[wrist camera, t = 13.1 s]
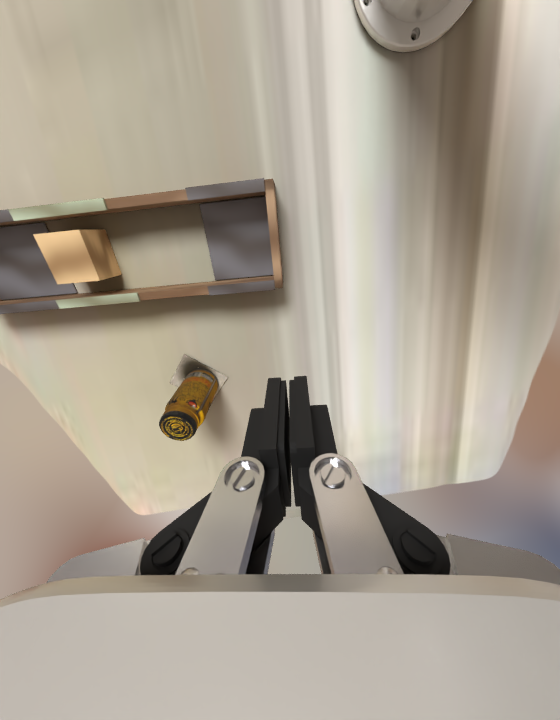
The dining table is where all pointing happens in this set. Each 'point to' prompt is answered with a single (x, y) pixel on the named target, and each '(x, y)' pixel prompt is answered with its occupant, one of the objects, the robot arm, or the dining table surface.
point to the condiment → (190, 398)
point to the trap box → (221, 219)
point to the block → (78, 255)
